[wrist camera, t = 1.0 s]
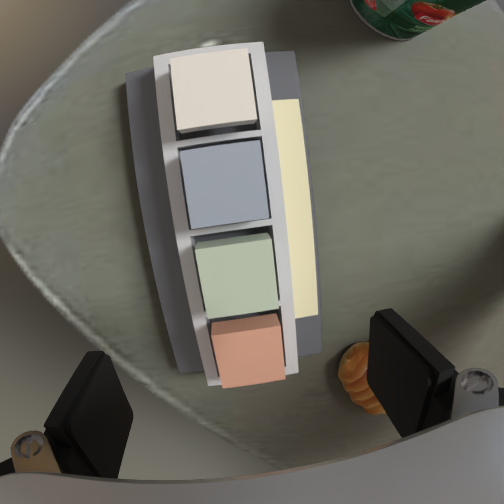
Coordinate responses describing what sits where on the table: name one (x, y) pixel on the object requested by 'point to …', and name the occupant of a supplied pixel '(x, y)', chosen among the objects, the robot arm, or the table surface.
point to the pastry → (358, 378)
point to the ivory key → (213, 90)
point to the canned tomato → (407, 15)
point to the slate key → (224, 184)
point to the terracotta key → (248, 350)
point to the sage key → (237, 275)
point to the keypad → (277, 225)
